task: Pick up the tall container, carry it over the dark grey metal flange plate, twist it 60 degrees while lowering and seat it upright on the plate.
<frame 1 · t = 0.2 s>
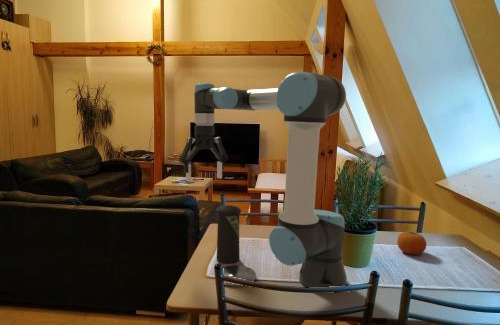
hand: (204, 179, 136), 28 cm above the table, fingers open, 13 cm apart
fruit: (410, 253, 139), on the table
container: (227, 259, 129), on the table
flange plate: (235, 277, 114), on the table
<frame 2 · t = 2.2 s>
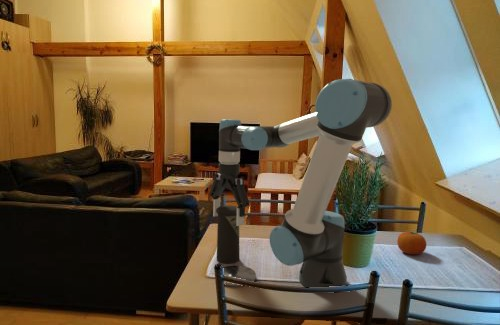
hand: (227, 220, 127), 15 cm above the table, fingers open, 13 cm apart
nothing on the table moved.
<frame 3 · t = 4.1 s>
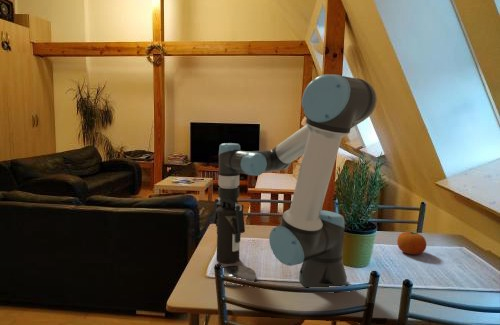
hand: (228, 246, 128), 5 cm above the table, fingers closed on container, 8 cm apart
container: (227, 259, 129), on the table, touching gripper
everything else where it was.
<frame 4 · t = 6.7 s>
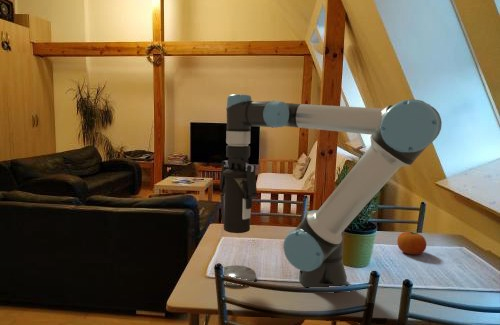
hand: (237, 215, 112), 21 cm above the table, fingers closed on container, 8 cm apart
container: (236, 230, 112), point 16 cm above the table, touching gripper
everything else where it was.
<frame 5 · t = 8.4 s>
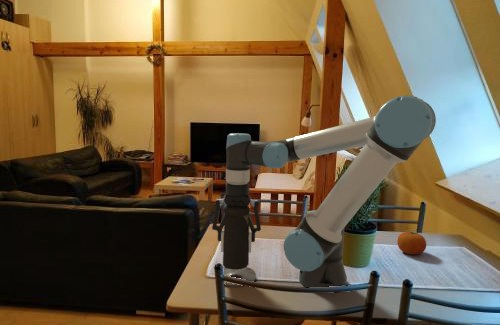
hand: (236, 250, 113), 9 cm above the table, fingers closed on container, 8 cm apart
container: (235, 265, 114), point 4 cm above the table, touching gripper
everything else where it was.
when the fingers open (7 cm above the table, at t = 9.6 s): container drops 1 cm, resting on flange plate.
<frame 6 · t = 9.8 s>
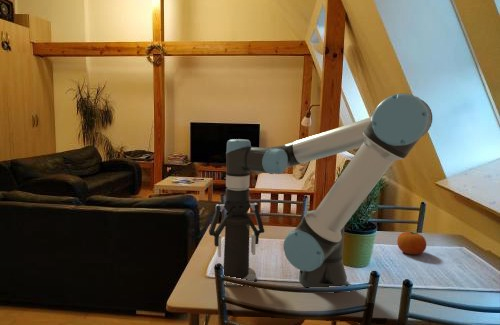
hand: (236, 254, 113), 8 cm above the table, fingers open, 10 cm apart
container: (235, 274, 114), point 1 cm above the table, touching flange plate
everything else where it was.
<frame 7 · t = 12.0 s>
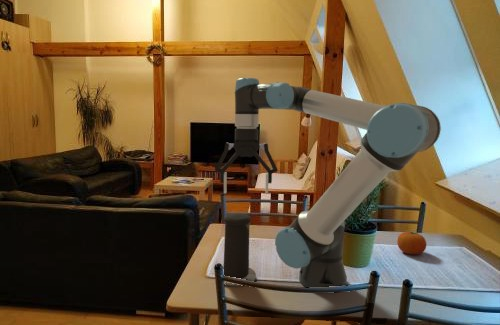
hand: (245, 193, 114), 28 cm above the table, fingers open, 13 cm apart
nothing on the table moved.
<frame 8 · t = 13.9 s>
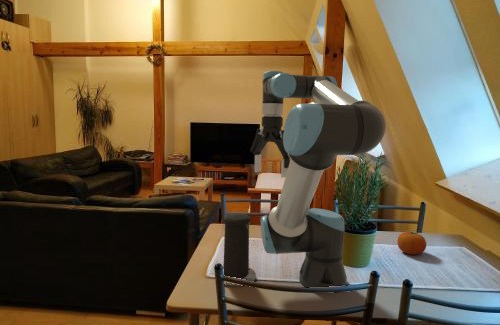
hand: (270, 174, 127), 32 cm above the table, fingers open, 13 cm apart
nothing on the table moved.
at the end: container 0.1 cm from the flange plate (horizontally); container tilted 0°; container point 1.0 cm above the table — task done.
